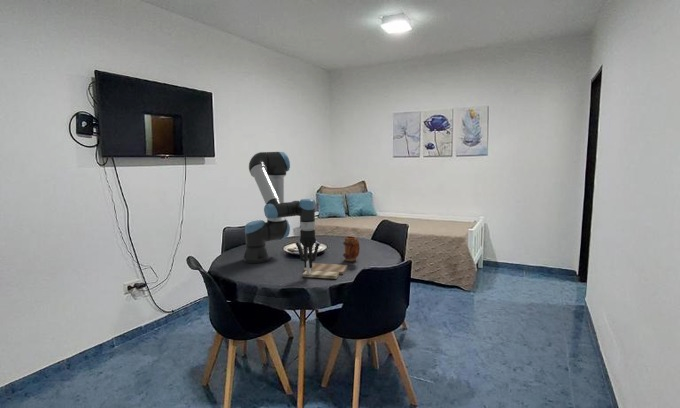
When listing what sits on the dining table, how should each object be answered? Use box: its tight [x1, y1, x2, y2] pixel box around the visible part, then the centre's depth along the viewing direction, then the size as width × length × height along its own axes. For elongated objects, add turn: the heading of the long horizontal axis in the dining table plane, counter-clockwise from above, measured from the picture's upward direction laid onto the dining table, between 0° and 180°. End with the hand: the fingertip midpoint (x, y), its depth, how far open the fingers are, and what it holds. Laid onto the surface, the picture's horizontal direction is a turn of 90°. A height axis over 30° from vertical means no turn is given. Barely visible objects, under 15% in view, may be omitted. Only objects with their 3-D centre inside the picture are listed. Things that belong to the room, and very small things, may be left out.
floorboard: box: [303, 262, 348, 275], centre depth 206 cm, size 22×12×2 cm, turn 78°
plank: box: [302, 270, 340, 280], centre depth 196 cm, size 18×8×2 cm, turn 78°
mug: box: [342, 235, 360, 262], centre depth 219 cm, size 15×8×15 cm, turn 23°
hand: (308, 273), depth 194 cm, fingers closed
